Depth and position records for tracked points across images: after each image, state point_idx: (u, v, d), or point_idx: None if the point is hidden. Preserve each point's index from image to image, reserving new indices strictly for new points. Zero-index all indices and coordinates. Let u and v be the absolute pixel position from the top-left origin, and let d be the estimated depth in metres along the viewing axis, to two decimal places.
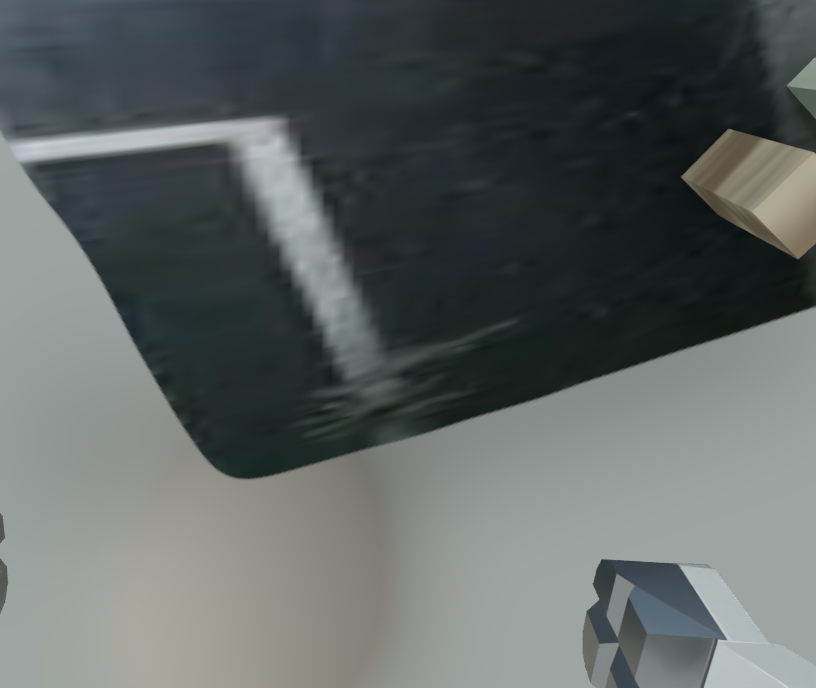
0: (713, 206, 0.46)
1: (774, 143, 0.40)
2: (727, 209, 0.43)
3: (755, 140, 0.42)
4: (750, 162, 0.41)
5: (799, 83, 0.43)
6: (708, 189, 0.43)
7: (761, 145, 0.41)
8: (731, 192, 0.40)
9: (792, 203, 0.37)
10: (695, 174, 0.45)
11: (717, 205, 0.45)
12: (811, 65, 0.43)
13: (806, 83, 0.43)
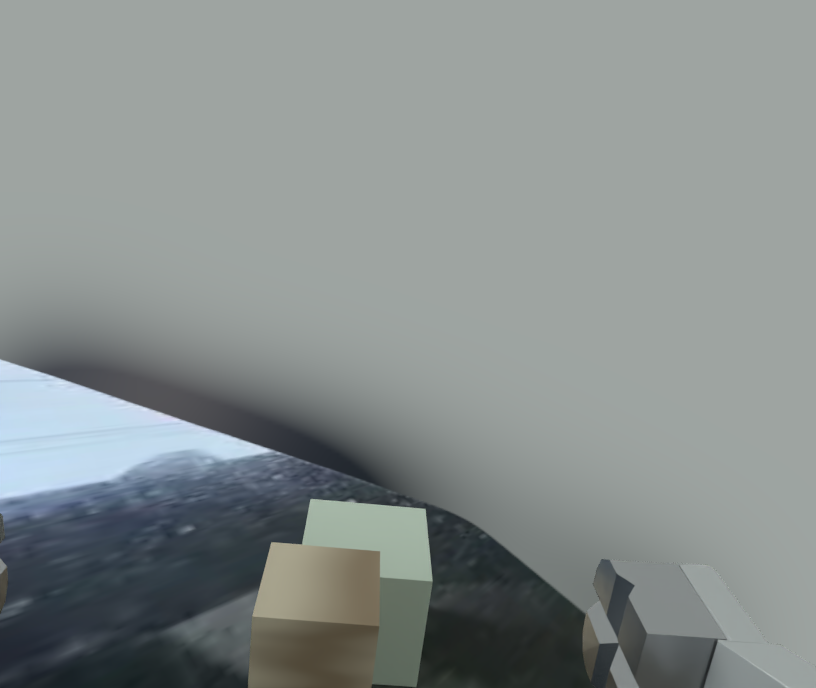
0: None
1: None
2: None
3: None
4: None
5: None
6: None
7: None
8: None
9: (300, 585, 0.24)
10: None
11: None
12: None
13: None
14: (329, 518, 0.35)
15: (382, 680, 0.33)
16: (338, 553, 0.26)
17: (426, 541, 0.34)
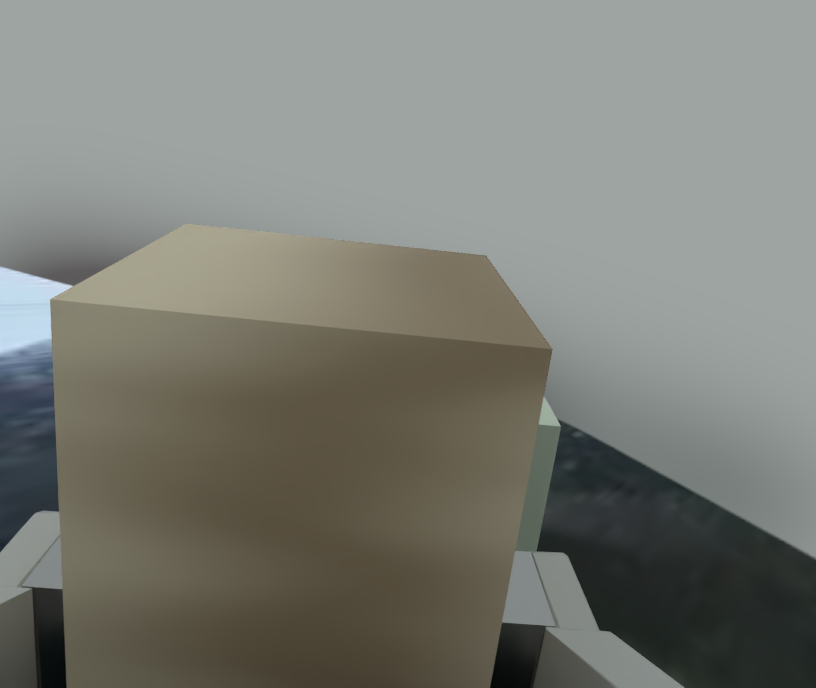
0: None
1: None
2: None
3: None
4: None
5: None
6: None
7: None
8: None
9: (255, 272, 0.07)
10: None
11: None
12: None
13: None
14: None
15: None
16: (372, 248, 0.09)
17: None
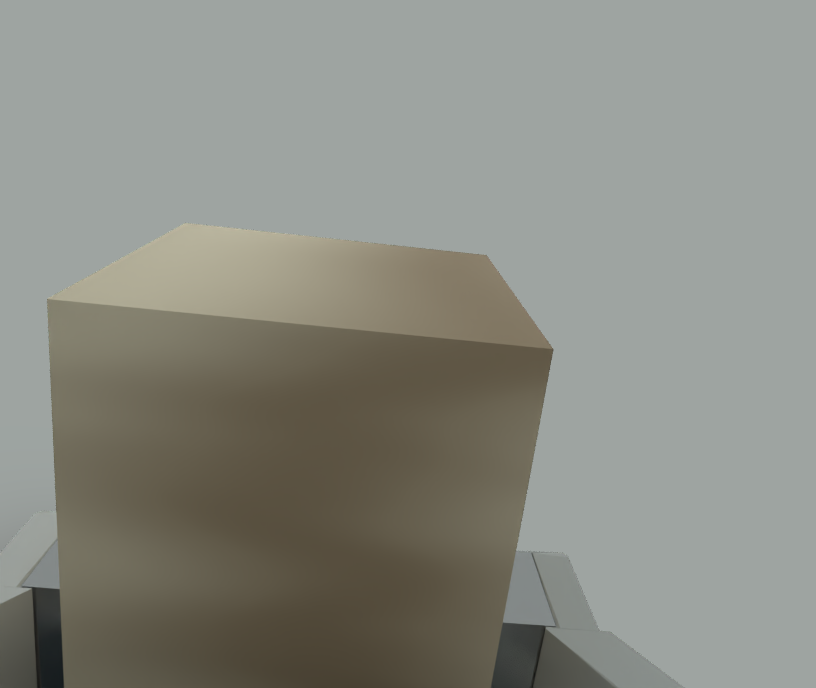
0: None
1: None
2: None
3: None
4: None
5: None
6: None
7: None
8: None
9: (254, 270, 0.07)
10: None
11: None
12: None
13: None
14: None
15: None
16: (372, 248, 0.09)
17: None
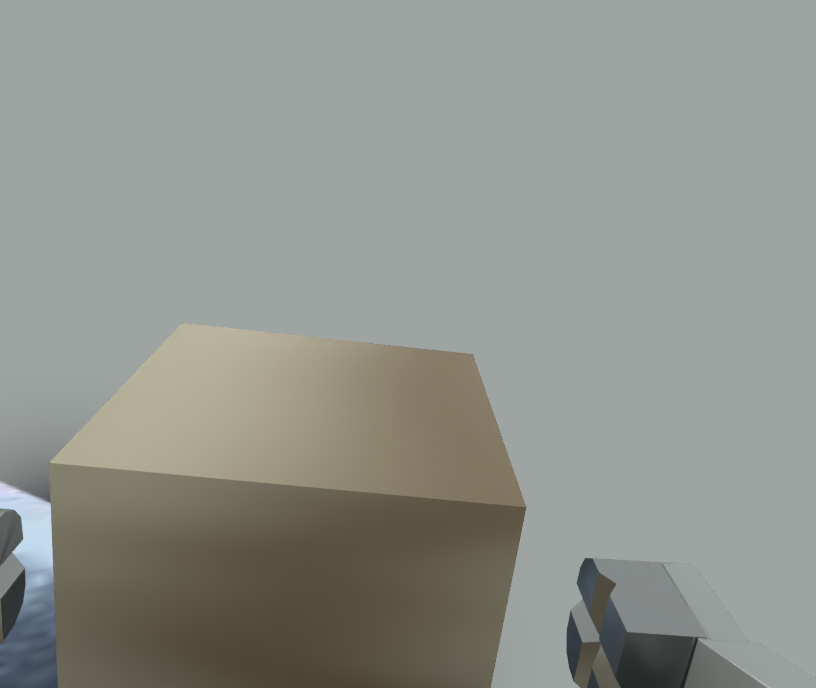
0: None
1: None
2: None
3: None
4: None
5: None
6: None
7: None
8: None
9: (247, 399, 0.07)
10: None
11: None
12: None
13: None
14: None
15: None
16: (362, 350, 0.09)
17: None
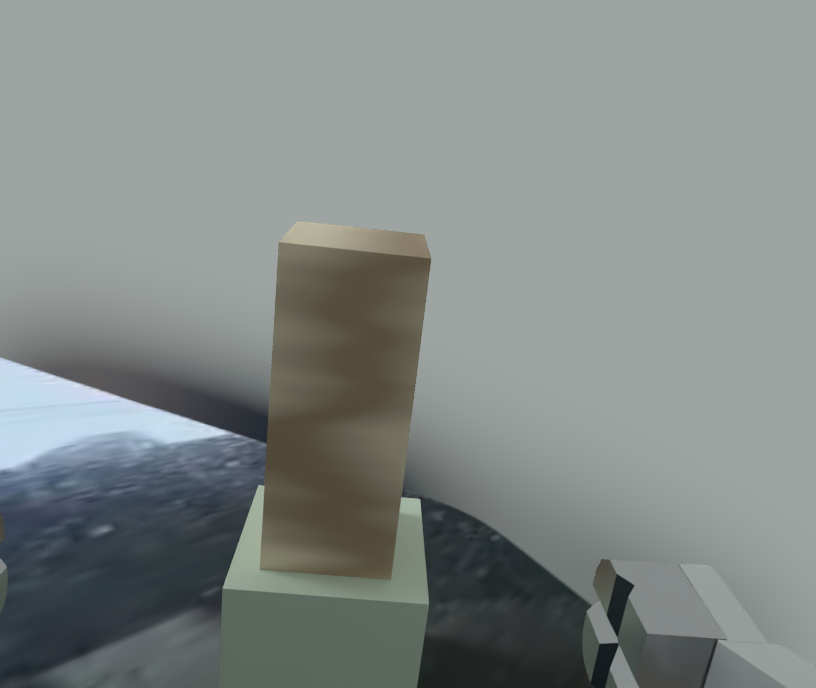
0: (348, 542, 0.21)
1: None
2: (328, 438, 0.20)
3: None
4: None
5: None
6: (267, 439, 0.20)
7: None
8: None
9: (333, 236, 0.20)
10: None
11: (331, 494, 0.21)
12: None
13: None
14: None
15: None
16: (375, 231, 0.22)
17: (420, 544, 0.24)
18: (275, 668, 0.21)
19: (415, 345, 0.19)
